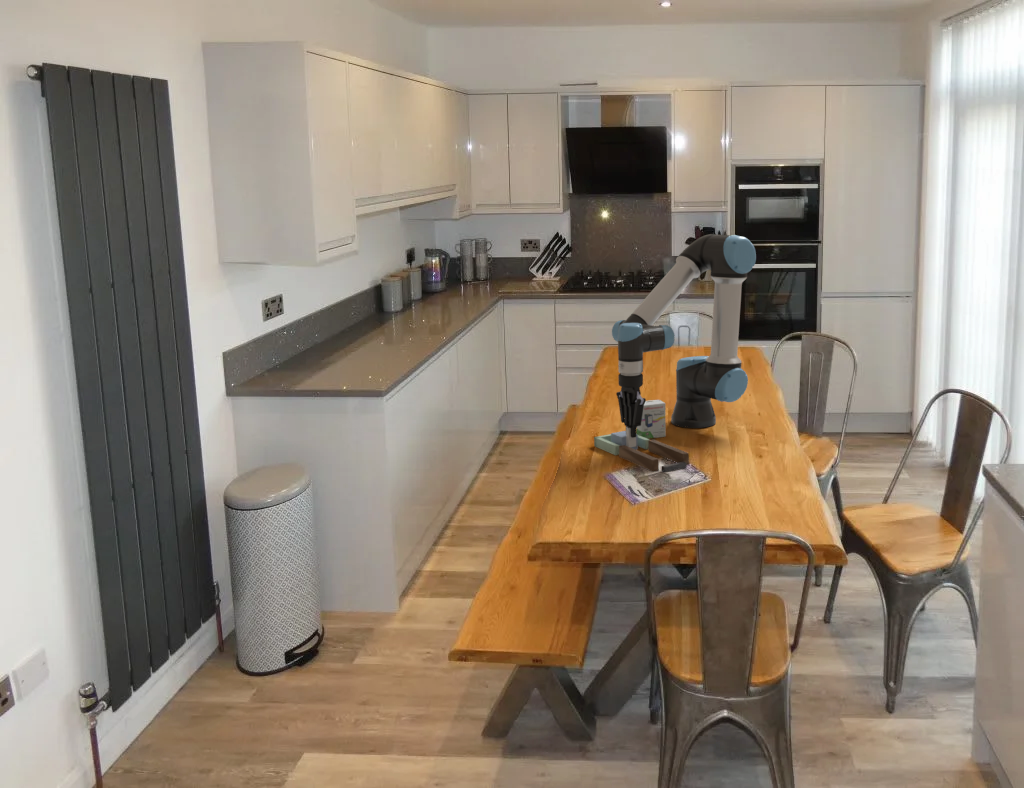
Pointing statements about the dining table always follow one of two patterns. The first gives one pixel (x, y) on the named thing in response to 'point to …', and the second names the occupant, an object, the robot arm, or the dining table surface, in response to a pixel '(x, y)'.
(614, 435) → the block
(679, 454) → the channel
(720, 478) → the dining table surface
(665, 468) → the bar
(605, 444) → the frame
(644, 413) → the ink box
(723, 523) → the dining table surface
